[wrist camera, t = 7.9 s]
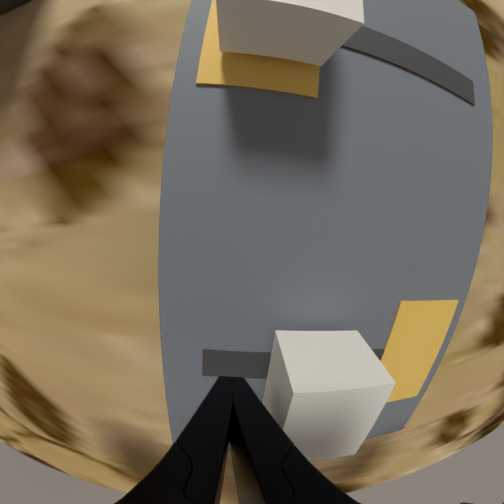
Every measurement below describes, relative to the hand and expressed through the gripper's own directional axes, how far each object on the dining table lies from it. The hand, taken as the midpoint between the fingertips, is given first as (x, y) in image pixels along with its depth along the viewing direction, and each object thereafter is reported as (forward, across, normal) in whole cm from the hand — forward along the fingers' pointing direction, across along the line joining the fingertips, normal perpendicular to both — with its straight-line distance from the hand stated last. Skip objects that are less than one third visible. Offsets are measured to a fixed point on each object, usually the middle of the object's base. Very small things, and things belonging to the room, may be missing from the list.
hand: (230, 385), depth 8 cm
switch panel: (+3, -4, -6) cm, 8 cm away
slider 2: (+1, -3, 0) cm, 3 cm away
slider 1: (+1, 0, -12) cm, 12 cm away
